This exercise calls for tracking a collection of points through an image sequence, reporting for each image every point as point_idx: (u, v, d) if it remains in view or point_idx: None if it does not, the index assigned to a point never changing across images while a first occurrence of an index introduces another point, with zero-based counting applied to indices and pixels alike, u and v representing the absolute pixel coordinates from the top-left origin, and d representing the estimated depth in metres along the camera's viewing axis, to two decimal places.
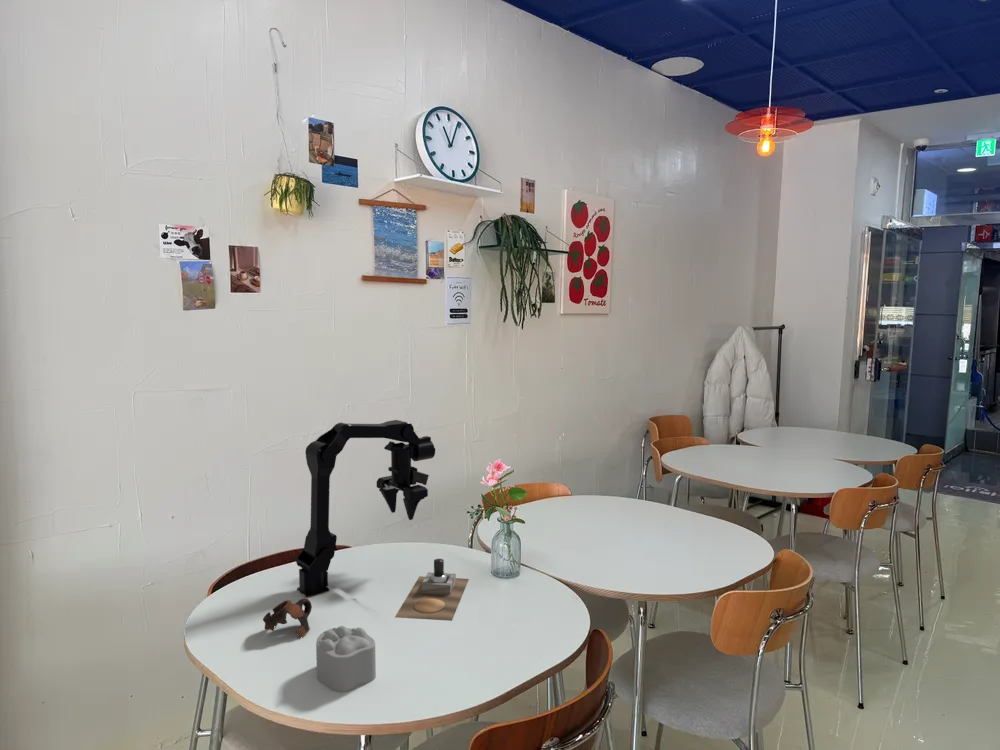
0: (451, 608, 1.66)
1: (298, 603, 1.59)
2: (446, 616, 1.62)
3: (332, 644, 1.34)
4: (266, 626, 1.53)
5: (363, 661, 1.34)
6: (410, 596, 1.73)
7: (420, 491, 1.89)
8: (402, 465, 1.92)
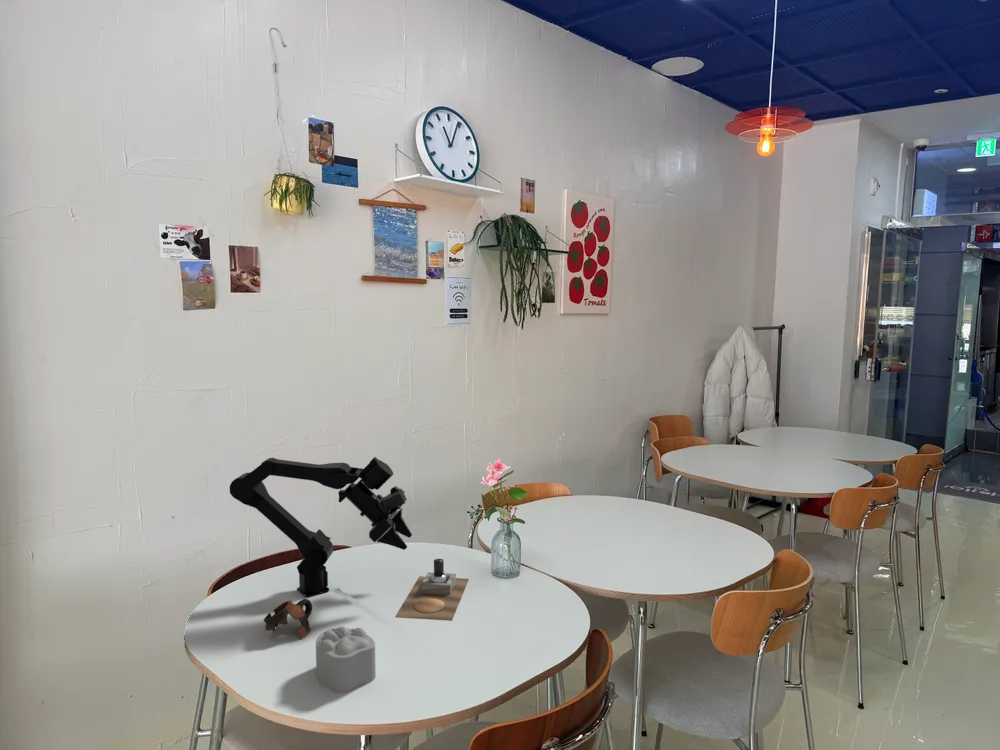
0: (451, 608, 1.66)
1: (299, 604, 1.58)
2: (446, 616, 1.62)
3: (332, 644, 1.34)
4: (267, 627, 1.52)
5: (363, 662, 1.34)
6: (410, 596, 1.73)
7: (377, 529, 1.68)
8: (360, 507, 1.74)
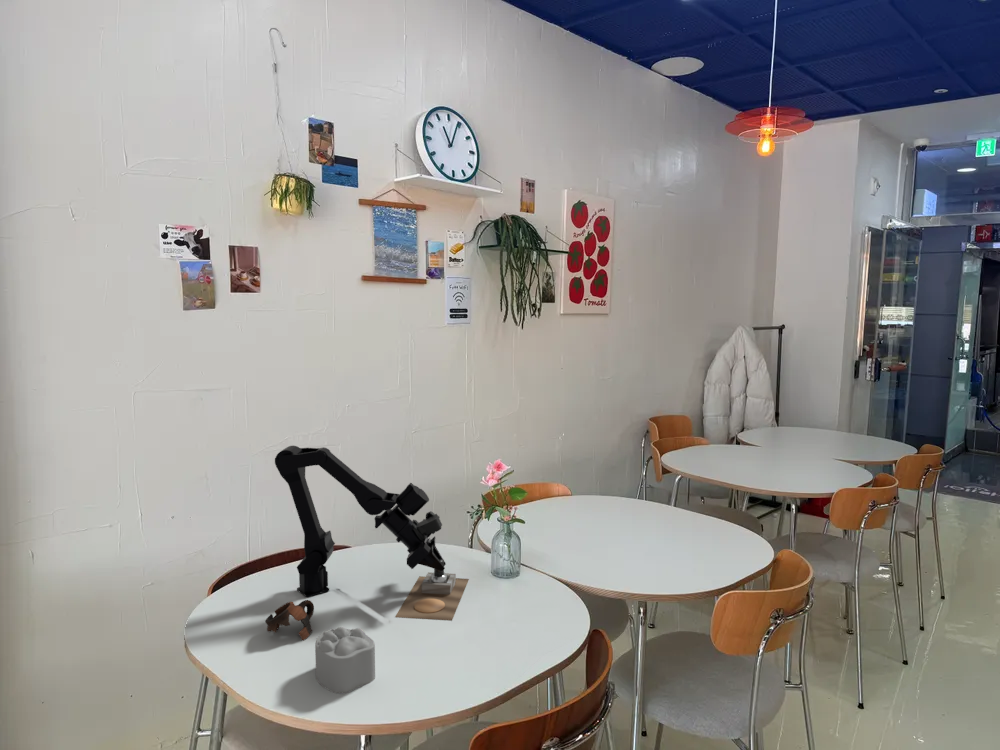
0: (451, 608, 1.66)
1: (300, 605, 1.58)
2: (446, 616, 1.62)
3: (331, 645, 1.34)
4: (269, 628, 1.52)
5: (363, 662, 1.34)
6: (410, 596, 1.73)
7: (415, 556, 1.68)
8: (397, 533, 1.75)
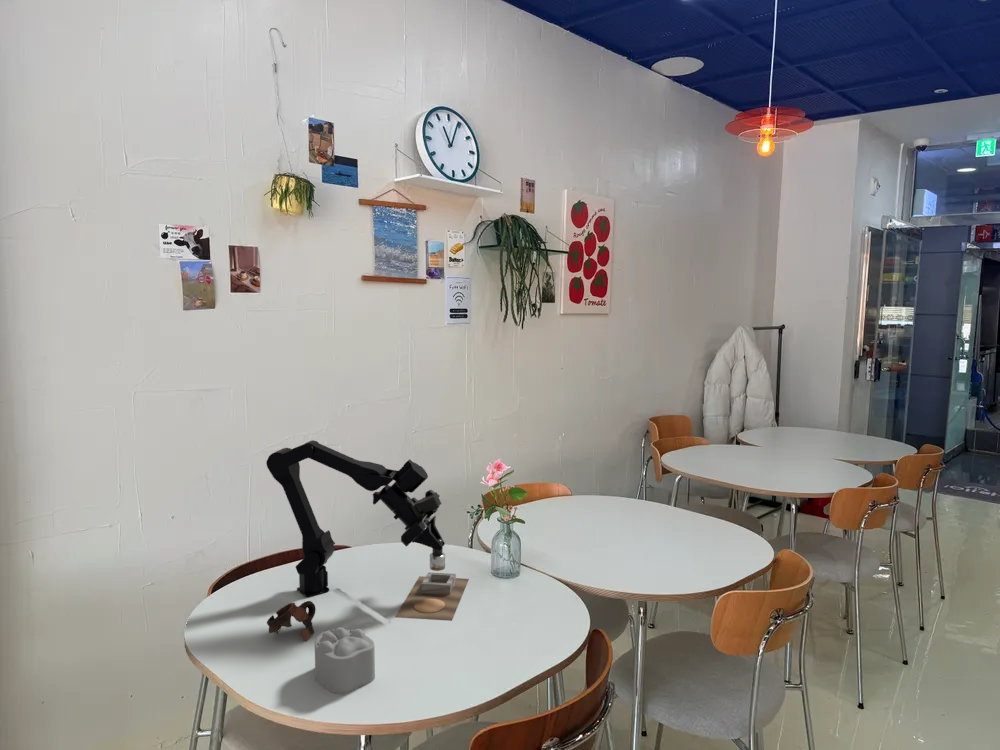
0: (451, 608, 1.66)
1: (302, 606, 1.57)
2: (446, 616, 1.62)
3: (331, 646, 1.34)
4: (270, 629, 1.51)
5: (362, 663, 1.34)
6: (410, 596, 1.73)
7: (409, 533, 1.65)
8: (394, 509, 1.72)
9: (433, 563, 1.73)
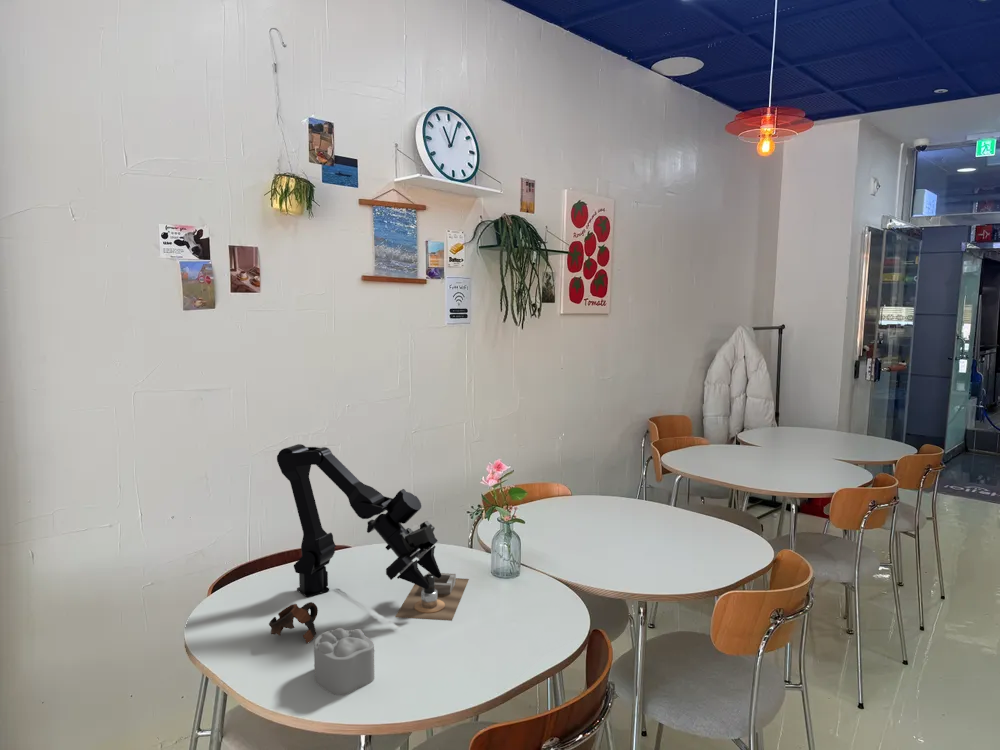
0: (451, 608, 1.66)
1: (304, 607, 1.57)
2: (446, 616, 1.62)
3: (331, 646, 1.34)
4: (273, 631, 1.50)
5: (362, 663, 1.33)
6: (410, 596, 1.73)
7: (393, 566, 1.59)
8: (386, 540, 1.67)
9: (423, 601, 1.66)
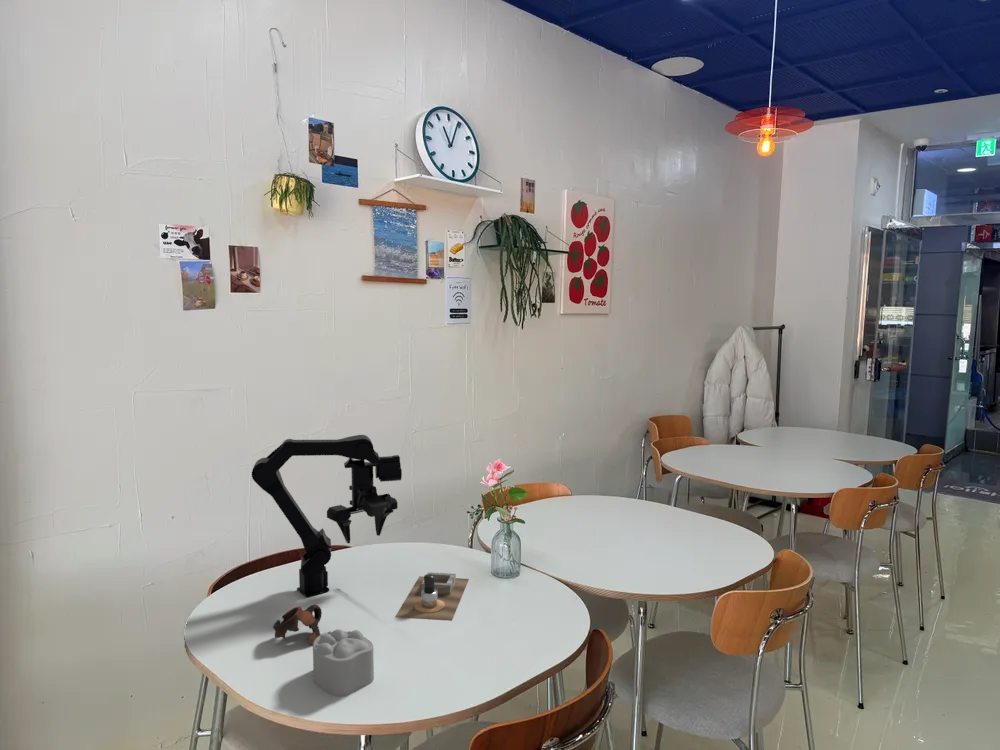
0: (451, 608, 1.66)
1: (308, 610, 1.55)
2: (446, 616, 1.62)
3: (330, 648, 1.33)
4: (277, 634, 1.49)
5: (362, 664, 1.33)
6: (410, 596, 1.73)
7: (331, 512, 1.74)
8: None
9: (423, 601, 1.66)
